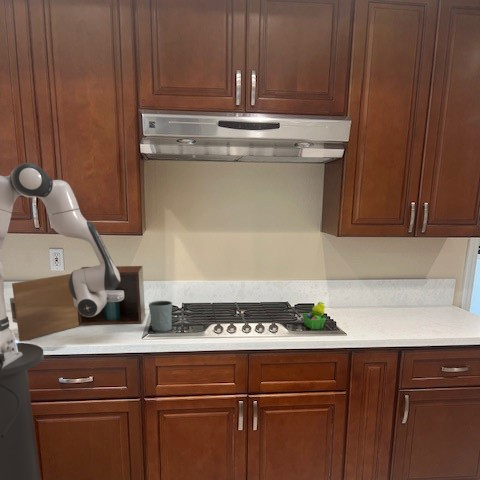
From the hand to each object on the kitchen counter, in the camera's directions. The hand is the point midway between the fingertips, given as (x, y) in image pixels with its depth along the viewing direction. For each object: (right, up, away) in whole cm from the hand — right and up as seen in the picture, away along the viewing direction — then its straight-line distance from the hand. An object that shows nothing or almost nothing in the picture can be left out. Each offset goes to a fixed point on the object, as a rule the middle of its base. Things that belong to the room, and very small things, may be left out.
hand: (102, 292), depth 198 cm
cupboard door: (-25, -17, +4) cm, 31 cm away
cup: (-2, -11, +23) cm, 25 cm away
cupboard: (-2, -12, +25) cm, 28 cm away
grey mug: (+24, -16, +9) cm, 30 cm away
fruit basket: (+93, -15, +13) cm, 95 cm away
